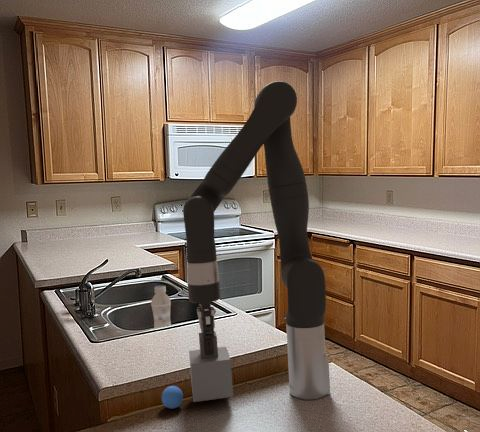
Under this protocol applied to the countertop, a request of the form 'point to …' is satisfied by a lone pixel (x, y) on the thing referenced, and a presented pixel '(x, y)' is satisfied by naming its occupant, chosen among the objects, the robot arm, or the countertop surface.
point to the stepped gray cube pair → (210, 372)
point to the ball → (172, 397)
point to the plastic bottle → (161, 307)
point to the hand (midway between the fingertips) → (208, 351)
